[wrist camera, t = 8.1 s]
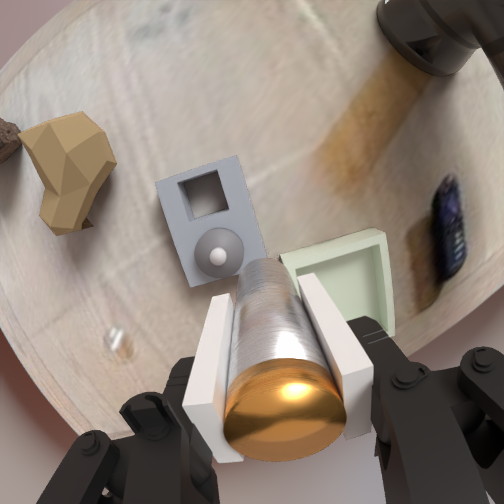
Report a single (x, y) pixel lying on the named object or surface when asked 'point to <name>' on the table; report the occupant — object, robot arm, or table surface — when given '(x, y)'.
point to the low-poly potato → (69, 168)
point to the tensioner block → (212, 225)
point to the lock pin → (277, 372)
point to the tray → (350, 274)
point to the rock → (8, 139)
